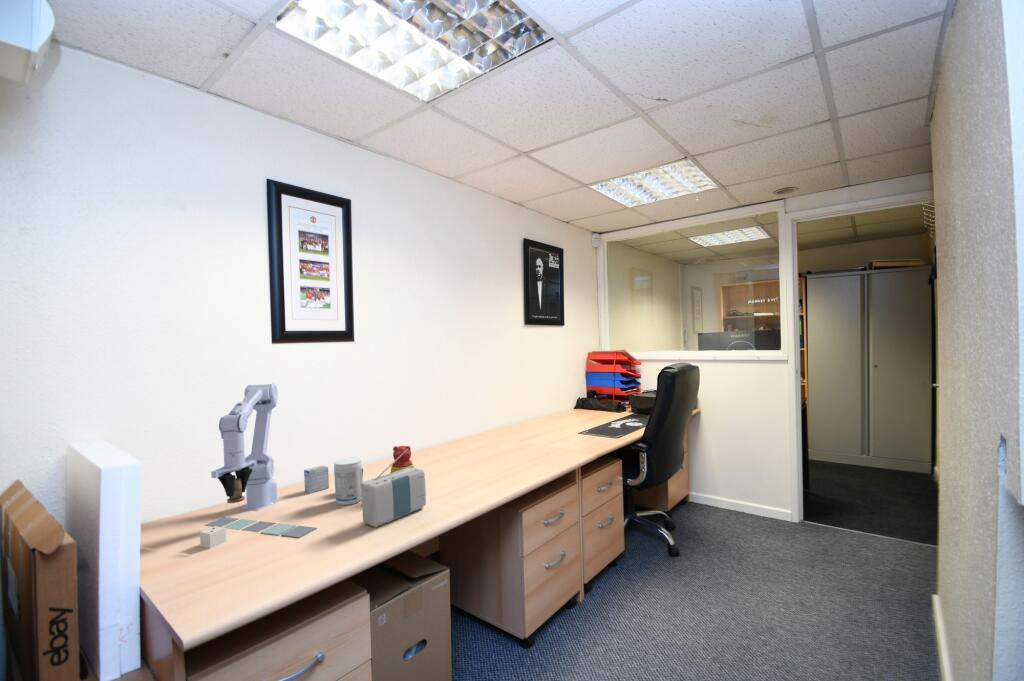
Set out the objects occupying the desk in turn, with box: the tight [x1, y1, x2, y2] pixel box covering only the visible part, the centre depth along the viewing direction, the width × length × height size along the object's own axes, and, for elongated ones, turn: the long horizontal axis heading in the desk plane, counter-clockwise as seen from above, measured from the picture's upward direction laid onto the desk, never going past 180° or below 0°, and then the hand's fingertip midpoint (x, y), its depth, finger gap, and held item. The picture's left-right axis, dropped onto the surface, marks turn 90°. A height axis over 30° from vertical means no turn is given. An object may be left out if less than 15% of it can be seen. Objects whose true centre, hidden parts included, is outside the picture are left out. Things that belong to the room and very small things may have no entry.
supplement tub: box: [333, 456, 364, 506], centre depth 167 cm, size 10×10×15 cm
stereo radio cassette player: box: [361, 449, 427, 528], centre depth 150 cm, size 21×8×20 cm, turn 143°
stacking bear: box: [389, 445, 415, 474], centre depth 173 cm, size 11×10×18 cm
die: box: [199, 526, 227, 550], centre depth 133 cm, size 4×4×4 cm
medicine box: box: [303, 464, 330, 494], centre depth 181 cm, size 8×4×9 cm, turn 141°
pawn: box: [226, 477, 245, 504], centre depth 148 cm, size 5×5×7 cm
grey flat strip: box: [204, 516, 318, 539], centre depth 145 cm, size 7×39×1 cm, turn 71°
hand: (236, 494), depth 148 cm, fingers closed on pawn, 4 cm apart
